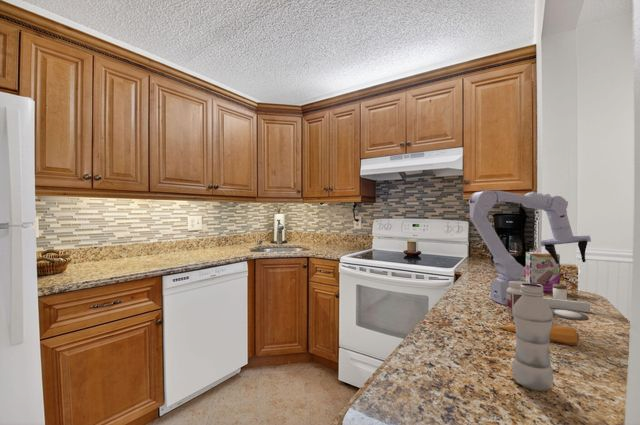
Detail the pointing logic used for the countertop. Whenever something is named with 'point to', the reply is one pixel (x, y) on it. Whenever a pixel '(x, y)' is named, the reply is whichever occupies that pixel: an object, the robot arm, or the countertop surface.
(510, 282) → the pill bottle
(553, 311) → the ring mat
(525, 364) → the plastic bottle
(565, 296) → the spice jar
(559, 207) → the robot arm
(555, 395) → the countertop surface
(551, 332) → the carrot
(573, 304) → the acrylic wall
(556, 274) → the candy bar box
